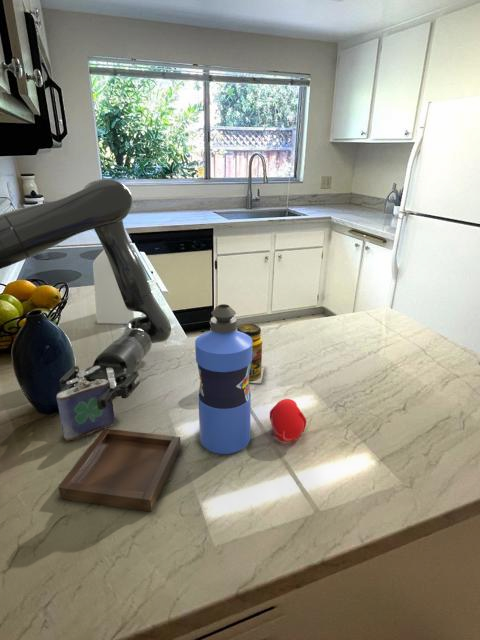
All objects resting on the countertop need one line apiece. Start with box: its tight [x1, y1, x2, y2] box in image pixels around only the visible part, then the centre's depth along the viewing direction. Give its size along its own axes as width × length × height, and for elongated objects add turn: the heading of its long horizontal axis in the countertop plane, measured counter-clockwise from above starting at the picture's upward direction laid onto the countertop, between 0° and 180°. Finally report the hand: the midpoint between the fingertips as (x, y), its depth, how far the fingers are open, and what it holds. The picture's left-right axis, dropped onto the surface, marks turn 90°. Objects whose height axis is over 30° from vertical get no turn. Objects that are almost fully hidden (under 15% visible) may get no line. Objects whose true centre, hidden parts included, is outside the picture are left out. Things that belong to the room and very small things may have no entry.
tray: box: [58, 428, 182, 513], centre depth 64 cm, size 14×14×2 cm
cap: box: [269, 398, 307, 443], centre depth 72 cm, size 8×6×6 cm
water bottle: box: [194, 304, 253, 455], centre depth 68 cm, size 9×9×25 cm
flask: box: [56, 376, 116, 442], centre depth 72 cm, size 9×3×11 cm, turn 127°
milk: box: [92, 249, 143, 325], centre depth 123 cm, size 12×12×26 cm
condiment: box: [236, 323, 265, 384], centre depth 91 cm, size 7×8×12 cm
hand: (79, 403), depth 70 cm, fingers closed on flask, 7 cm apart
